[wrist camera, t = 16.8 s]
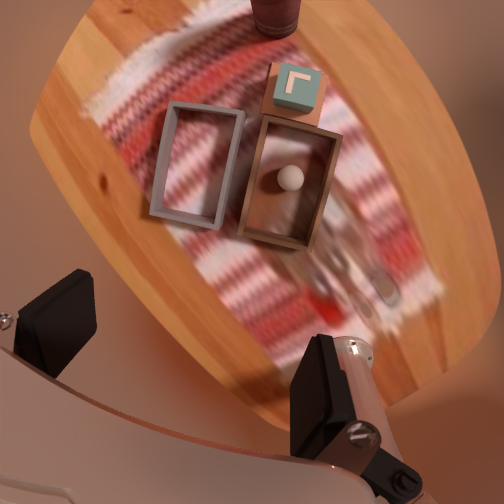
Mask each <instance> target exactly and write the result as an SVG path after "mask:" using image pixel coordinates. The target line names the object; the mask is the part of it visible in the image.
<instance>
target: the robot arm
mask: <svg viewBox="0 0 504 504" xmlns="http://www.w3.org/2000/svg"><path fill="white" fill-rule="evenodd" d="M18 314H19V318H18V319H16V316H15V315H14V314H13V313H11V312H5V311H3V312H0V504H437V502H436V501H435V500H434V499H433V498H432V497H431V496H430V495H429V494H428V492H426V493H423V492H422V491H421V489H422V479H421V477H420V475H419V474H418V473H417V472H416V471H415V470H413V469H412V468H410V467H409V466H407V465H406V464H404V462H403V460H402V458H401V456H400V454H399V452H398V449H397V447H396V445H395V442H394V440H393V437H392V434H391V431H390V428H389V425H388V422H387V419H386V416H385V412H384V409H383V406H382V403H381V400H380V397H379V394H378V391H377V388H376V385H375V382H374V379H373V376H372V374H371V371H370V369H371V367H372V365H373V361H374V355H373V352H372V349H371V347H370V346H369V345H368V343H366V342H365V341H364V340H362V339H359V338H355V337H339V338H336V339H333V337H332V336H329V335H324V334H317V336H316V337H314V336H312V337H311V339H310V342H309V344H308V346H307V349H306V351H305V353H304V356H303V358H302V360H301V362H300V365H299V367H298V369H297V371H296V373H295V375H294V378H293V380H292V382H291V385H290V455H291V456H295V457H291V456H284V455H279V454H272V453H265V452H259V451H253V450H248V449H242V448H238V447H233V446H228V445H223V444H219V443H215V442H211V441H206V440H203V439H199V438H195V437H191V436H188V435H184V434H181V433H178V432H175V431H171V430H168V429H165V428H162V427H159V426H156V425H153V424H151V423H148V422H145V421H142V420H140V419H137V418H135V417H132V416H130V415H127V414H124V413H122V412H119V411H117V410H115V409H113V408H111V407H108V406H106V405H104V404H102V403H100V402H97V401H95V400H93V399H91V398H89V397H87V396H85V395H83V394H81V393H79V392H77V391H75V390H74V389H72V388H70V387H68V386H66V385H64V384H63V383H61V382H59V381H57V380H56V379H55V378H57V376H58V375H59V374H60V373H61V372H62V370H63V369H64V368H65V367H66V366H67V365H68V364H69V362H70V361H71V360H72V359H73V358H74V356H75V355H76V354H77V353H78V352H79V351H80V350H81V349H82V347H83V346H84V345H85V344H86V343H87V342H88V341H89V340H90V338H91V337H92V336H93V335H94V334H95V332H96V330H97V323H96V313H95V301H94V284H93V278H92V277H91V275H90V273H89V272H87V271H84V270H81V269H77V270H75V271H73V272H72V273H71V274H69V275H68V276H66V277H65V278H63V279H62V280H60V281H59V282H57V283H56V284H55V285H53V286H52V287H50V288H49V289H48V290H46V291H45V292H43V293H42V294H41V295H40V296H38V297H37V298H35V299H34V300H32V301H31V302H30V303H28V304H27V305H26V306H24V307H23V308H22V309H20V310H19V311H18Z"/></svg>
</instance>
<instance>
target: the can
mask: <svg viewBox="0 0 504 504" xmlns="http://www.w3.org/2000/svg"><path fill="white" fill-rule="evenodd" d="M250 1H251V6H252V10H253V16H254V21H255V25H256V28H257V29H258V31H259V32H260V33H262V34H263V35H265V36H268V37H271V38H283V37H286V36H289V35H291V34H292V33H293V32H294V31H295V30H296V28H297V24H298V17H299V10H300V3H301V0H250Z"/></svg>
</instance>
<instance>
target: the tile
mask: <svg viewBox="0 0 504 504" xmlns="http://www.w3.org/2000/svg"><path fill="white" fill-rule="evenodd" d="M280 66H281V64H280V63H275V62H272V66H271V70H270V74H269V78H268V82H267V86H266V90H265V94H264V99H263V103H262V107H261V111H260V113H264V114H268V115H273V116H277V117H282V118H286V119H290V120H294V121H298V122H302V123H306V124H310V125H313V126H318V123H319V118H320V114H321V109H322V105H323V101H324V96H325V92H326V87H327V82H328V78H329V76H328V75H325V74H321V79H320V83H319V88H318V93H317V97H316V102H315V107H314V109H313V110H312V111H311V113H310V114H308V113H304V112H300V111H296V110H292V109H287V108H283V107H278V106H274V104H273V96H274V91H275V87H276V83H277V79H278V74H279V70H280Z"/></svg>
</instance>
